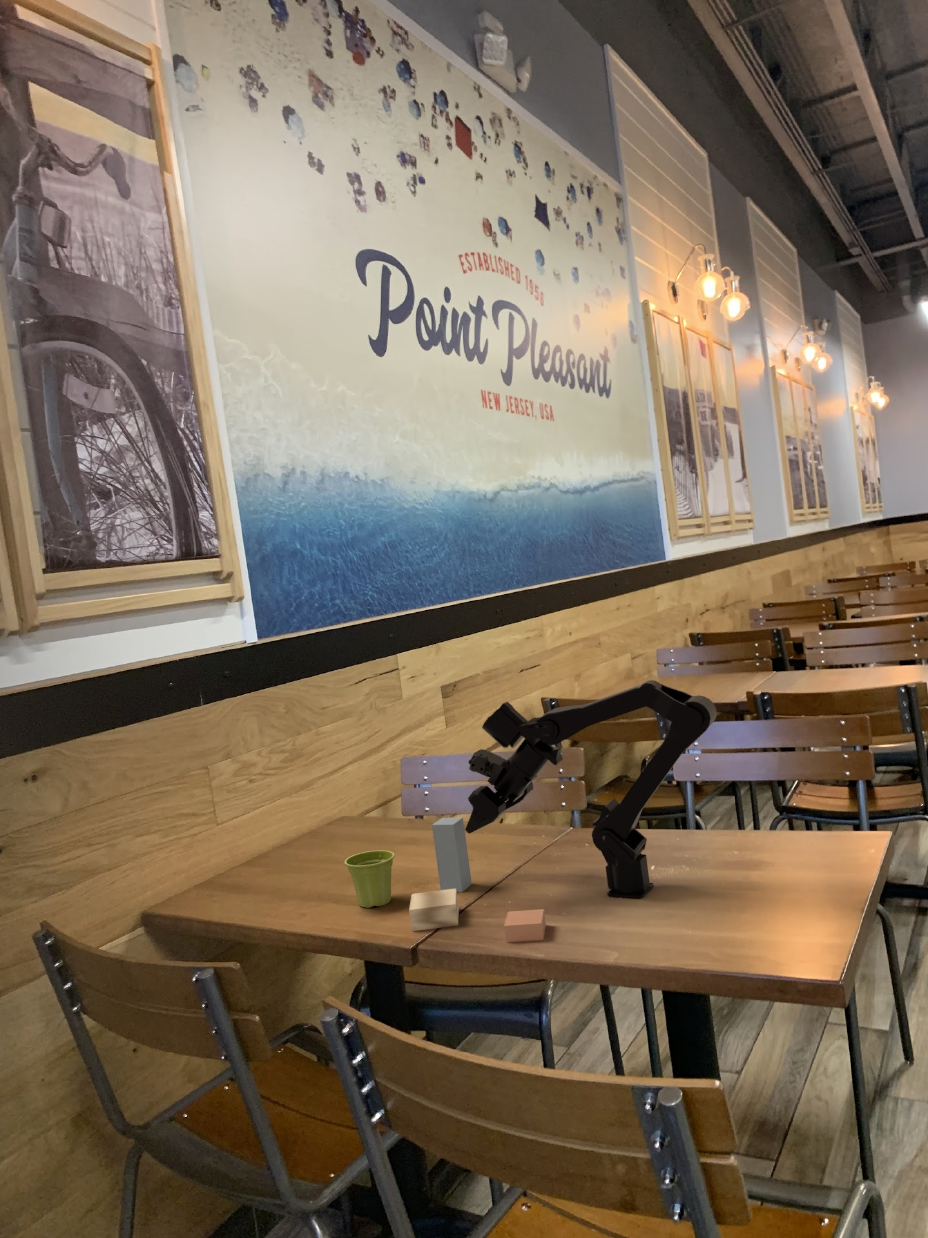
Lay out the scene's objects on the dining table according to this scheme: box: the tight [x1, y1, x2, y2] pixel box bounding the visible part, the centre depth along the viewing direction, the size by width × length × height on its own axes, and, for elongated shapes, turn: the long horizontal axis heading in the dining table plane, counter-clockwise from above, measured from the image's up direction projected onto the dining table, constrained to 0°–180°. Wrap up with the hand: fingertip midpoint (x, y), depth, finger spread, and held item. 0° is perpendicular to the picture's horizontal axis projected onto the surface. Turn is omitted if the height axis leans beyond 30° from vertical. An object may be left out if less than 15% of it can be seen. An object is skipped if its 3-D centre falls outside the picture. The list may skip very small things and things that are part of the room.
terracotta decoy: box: [503, 908, 547, 943], centre depth 150 cm, size 6×6×3 cm
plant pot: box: [344, 849, 395, 909], centre depth 175 cm, size 9×9×9 cm
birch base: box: [408, 888, 460, 932], centre depth 162 cm, size 8×8×4 cm
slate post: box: [431, 817, 473, 893], centre depth 177 cm, size 4×4×13 cm
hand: (477, 824), depth 174 cm, fingers open, 9 cm apart
